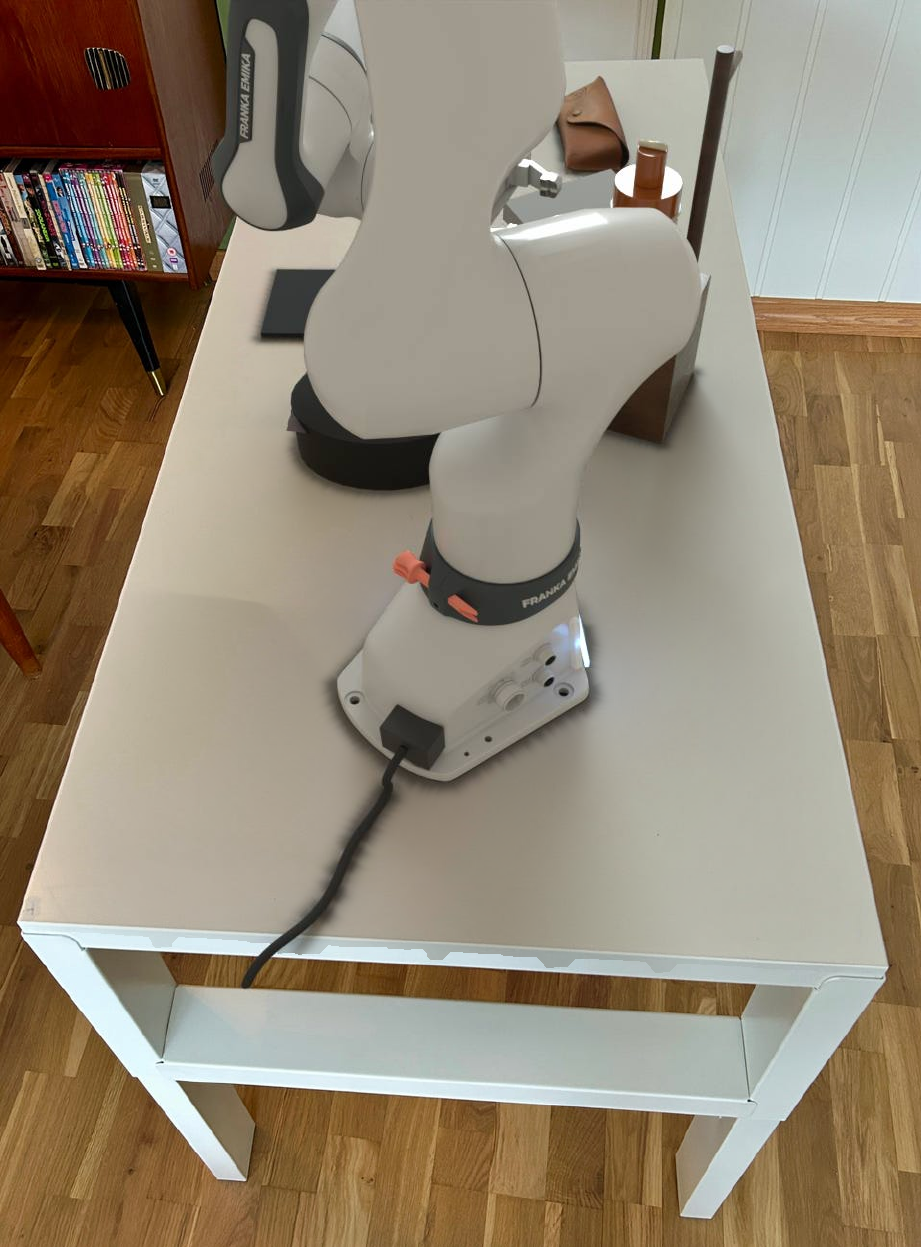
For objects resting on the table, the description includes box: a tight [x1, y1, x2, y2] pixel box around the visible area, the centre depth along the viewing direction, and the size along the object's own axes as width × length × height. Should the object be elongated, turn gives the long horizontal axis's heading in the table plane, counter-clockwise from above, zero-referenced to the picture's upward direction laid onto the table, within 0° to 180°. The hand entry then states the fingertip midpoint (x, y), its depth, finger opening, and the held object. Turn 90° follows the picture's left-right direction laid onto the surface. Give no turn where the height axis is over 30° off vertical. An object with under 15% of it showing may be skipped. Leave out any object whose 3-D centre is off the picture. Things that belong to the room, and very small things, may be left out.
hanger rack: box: [606, 44, 744, 445], centre depth 99 cm, size 12×12×36 cm
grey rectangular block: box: [502, 169, 617, 226], centre depth 129 cm, size 10×4×15 cm
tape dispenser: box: [286, 370, 441, 491], centre depth 107 cm, size 14×18×8 cm
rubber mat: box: [260, 268, 336, 339], centre depth 123 cm, size 12×12×1 cm
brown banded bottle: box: [610, 138, 684, 226], centre depth 97 cm, size 6×6×16 cm
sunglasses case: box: [556, 75, 631, 172], centre depth 143 cm, size 18×7×7 cm
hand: (543, 212), depth 100 cm, fingers open, 8 cm apart
